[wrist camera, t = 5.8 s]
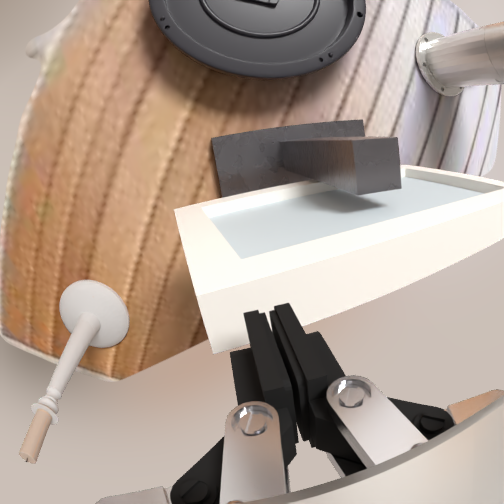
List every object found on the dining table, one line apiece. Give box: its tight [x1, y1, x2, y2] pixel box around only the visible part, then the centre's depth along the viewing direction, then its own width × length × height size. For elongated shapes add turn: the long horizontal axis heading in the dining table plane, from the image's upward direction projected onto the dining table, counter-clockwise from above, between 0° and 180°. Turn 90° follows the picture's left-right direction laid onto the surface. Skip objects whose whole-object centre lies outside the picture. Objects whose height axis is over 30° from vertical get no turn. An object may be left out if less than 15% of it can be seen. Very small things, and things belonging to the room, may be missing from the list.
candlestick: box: [19, 280, 129, 464], centre depth 32 cm, size 13×13×30 cm
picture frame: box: [174, 165, 504, 354], centre depth 25 cm, size 30×3×20 cm, turn 100°
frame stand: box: [211, 120, 402, 198], centre depth 31 cm, size 22×9×23 cm, turn 99°
